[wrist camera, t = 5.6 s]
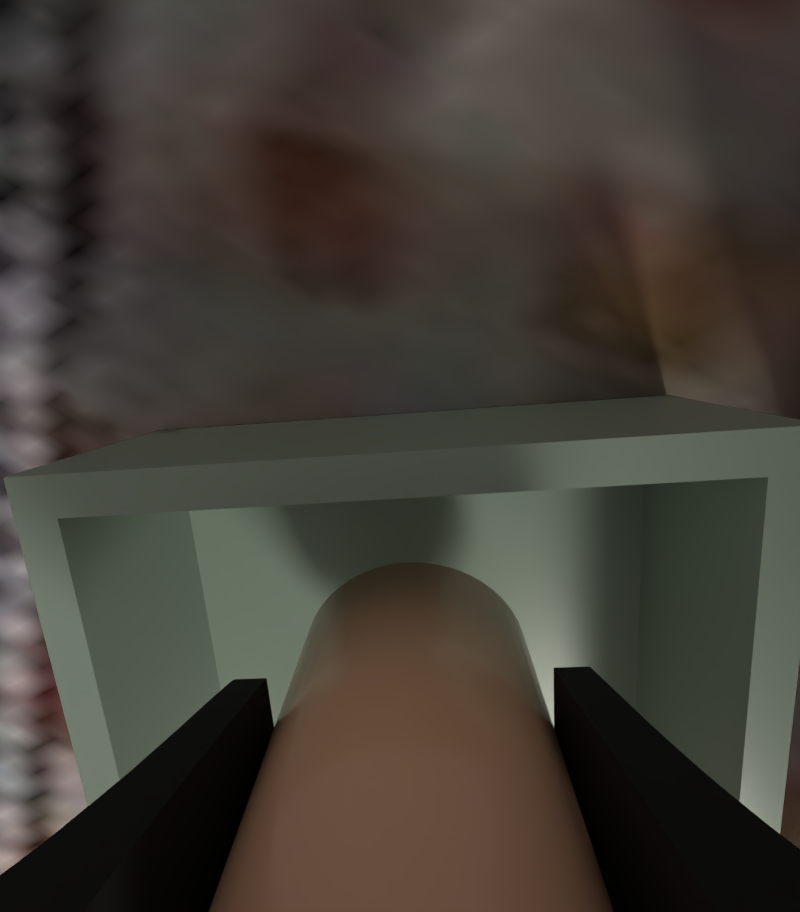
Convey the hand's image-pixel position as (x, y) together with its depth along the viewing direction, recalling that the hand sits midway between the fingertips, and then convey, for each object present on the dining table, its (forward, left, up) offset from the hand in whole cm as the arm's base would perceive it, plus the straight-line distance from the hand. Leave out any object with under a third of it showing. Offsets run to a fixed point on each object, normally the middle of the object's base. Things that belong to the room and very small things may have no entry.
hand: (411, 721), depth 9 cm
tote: (0, +4, -5) cm, 7 cm away
